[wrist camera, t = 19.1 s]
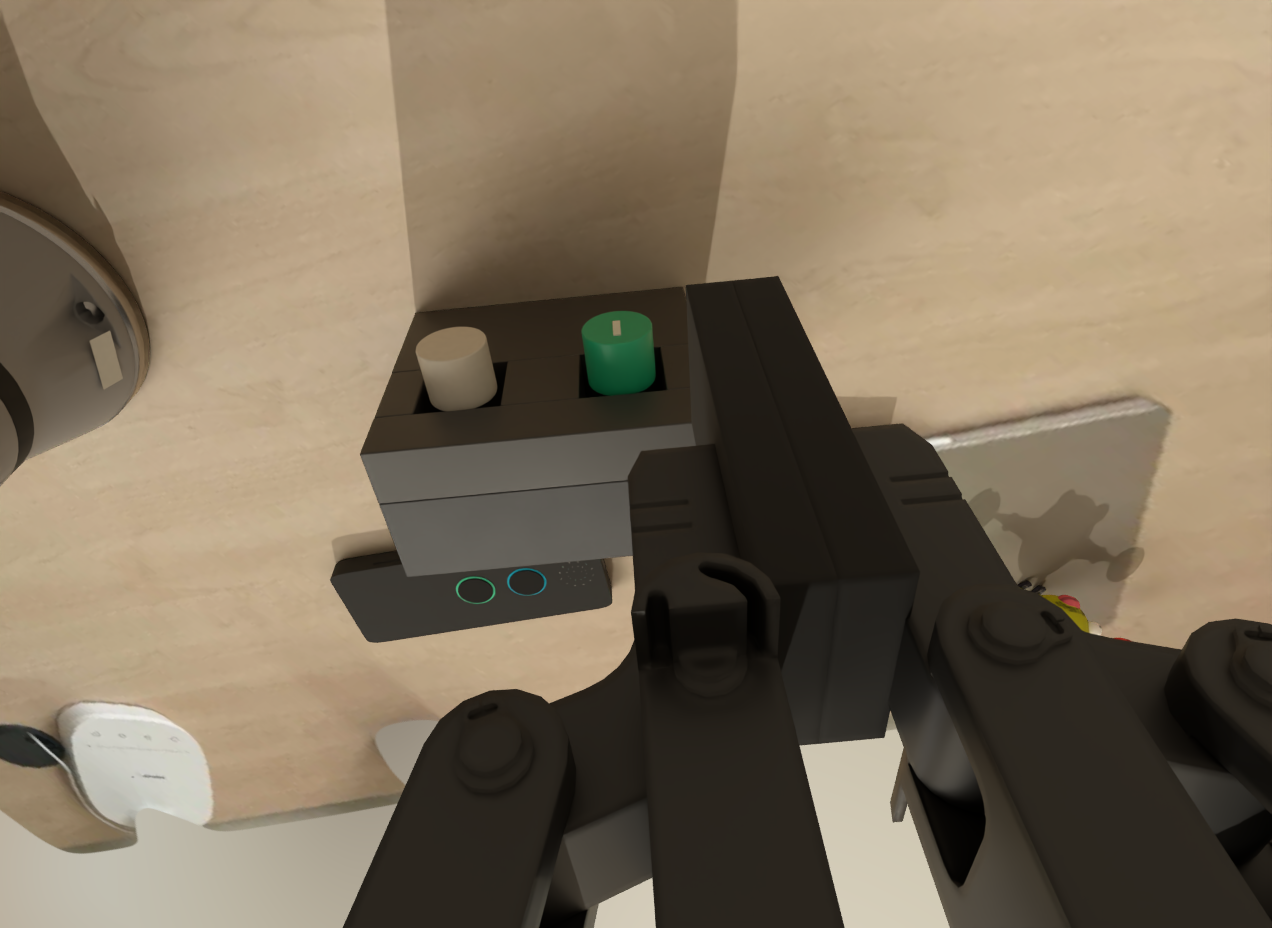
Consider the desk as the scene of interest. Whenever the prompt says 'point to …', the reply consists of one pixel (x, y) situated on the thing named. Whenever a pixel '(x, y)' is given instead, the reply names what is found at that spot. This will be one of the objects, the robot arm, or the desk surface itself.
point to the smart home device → (462, 595)
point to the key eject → (457, 368)
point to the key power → (619, 352)
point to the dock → (525, 439)
